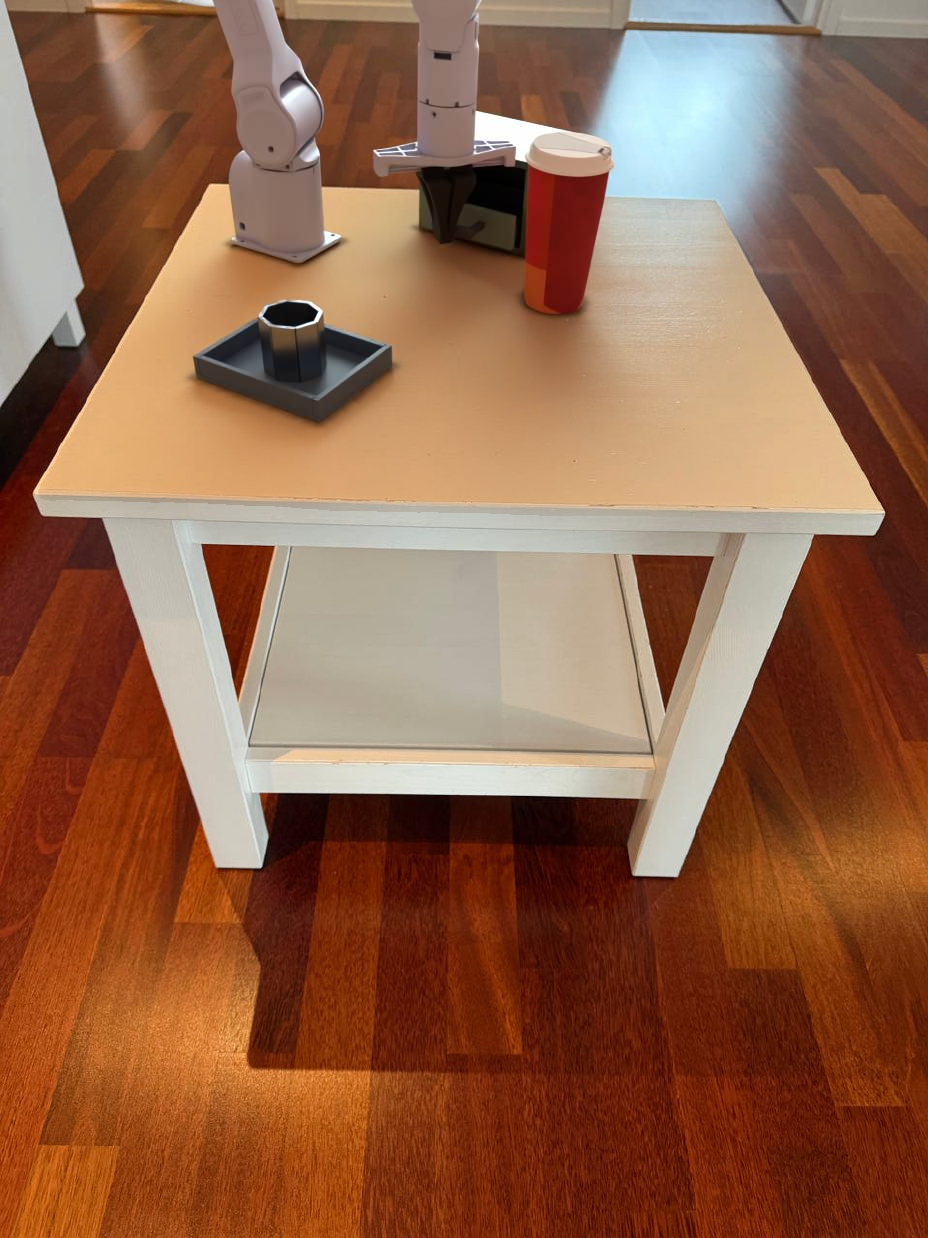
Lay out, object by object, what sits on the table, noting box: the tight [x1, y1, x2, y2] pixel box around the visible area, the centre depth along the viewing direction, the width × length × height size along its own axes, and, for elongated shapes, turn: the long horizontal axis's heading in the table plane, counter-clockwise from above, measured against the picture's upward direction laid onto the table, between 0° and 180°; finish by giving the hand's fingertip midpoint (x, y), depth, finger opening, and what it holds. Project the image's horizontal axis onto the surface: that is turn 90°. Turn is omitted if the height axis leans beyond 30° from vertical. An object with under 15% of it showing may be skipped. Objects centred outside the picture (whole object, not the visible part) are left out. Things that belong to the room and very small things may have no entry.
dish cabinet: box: [418, 110, 571, 258], centre depth 104 cm, size 14×12×10 cm
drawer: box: [422, 179, 524, 250], centre depth 103 cm, size 11×15×4 cm
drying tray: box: [192, 316, 393, 423], centre depth 81 cm, size 13×11×2 cm
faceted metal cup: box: [257, 299, 327, 383], centre depth 80 cm, size 5×5×5 cm
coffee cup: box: [523, 131, 615, 315], centre depth 89 cm, size 8×8×15 cm
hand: (443, 240), depth 98 cm, fingers closed
